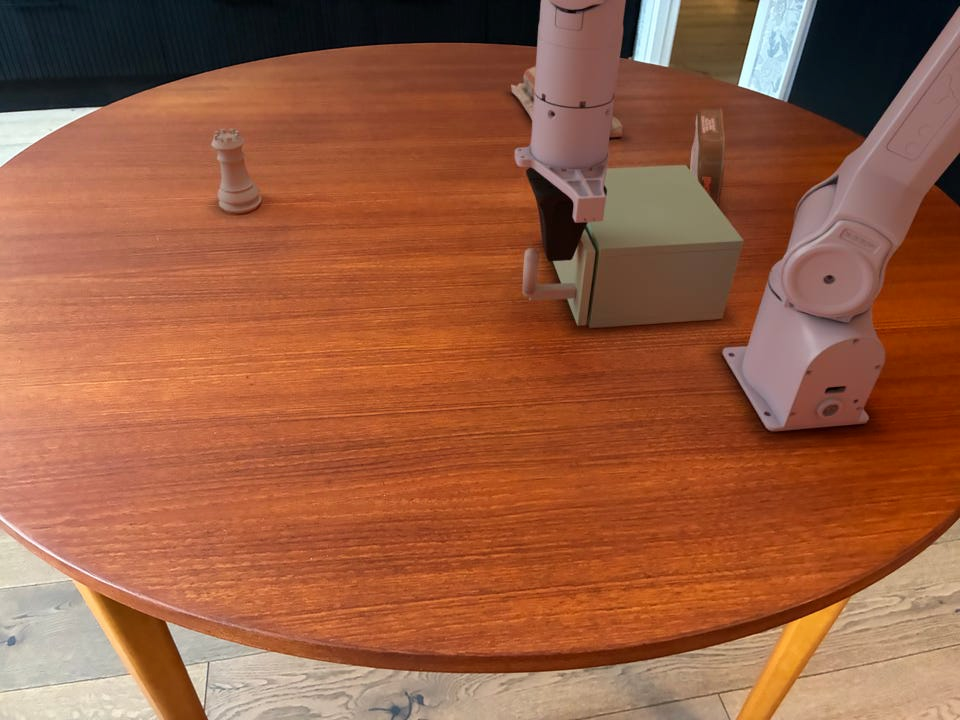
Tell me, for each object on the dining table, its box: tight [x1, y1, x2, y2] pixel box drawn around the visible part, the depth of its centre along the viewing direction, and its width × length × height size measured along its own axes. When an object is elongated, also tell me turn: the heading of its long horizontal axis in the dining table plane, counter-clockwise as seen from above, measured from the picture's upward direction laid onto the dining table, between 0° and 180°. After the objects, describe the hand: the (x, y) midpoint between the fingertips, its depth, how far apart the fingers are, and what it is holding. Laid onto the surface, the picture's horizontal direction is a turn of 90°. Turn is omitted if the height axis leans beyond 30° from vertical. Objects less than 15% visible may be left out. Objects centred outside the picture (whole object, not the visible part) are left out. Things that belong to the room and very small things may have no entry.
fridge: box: [585, 164, 744, 329], centre depth 69 cm, size 12×14×8 cm
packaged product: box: [510, 65, 624, 138], centre depth 100 cm, size 18×5×10 cm
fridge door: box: [521, 229, 596, 327], centre depth 68 cm, size 5×14×7 cm, turn 7°
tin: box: [689, 107, 726, 207], centre depth 82 cm, size 15×3×8 cm, turn 168°
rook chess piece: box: [210, 127, 262, 215], centre depth 79 cm, size 4×4×8 cm
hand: (558, 256), depth 63 cm, fingers closed
